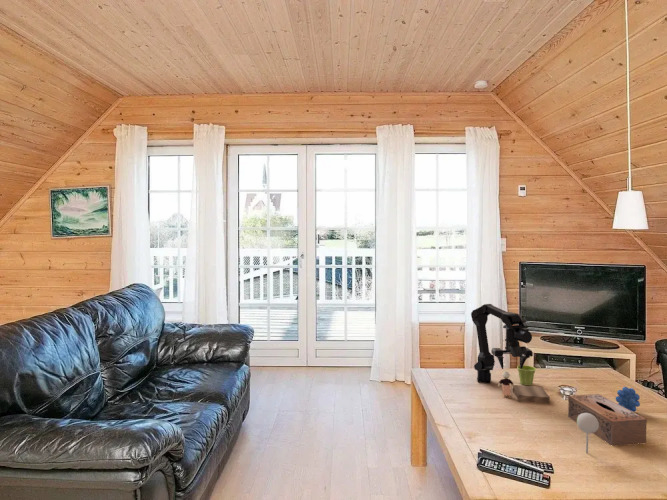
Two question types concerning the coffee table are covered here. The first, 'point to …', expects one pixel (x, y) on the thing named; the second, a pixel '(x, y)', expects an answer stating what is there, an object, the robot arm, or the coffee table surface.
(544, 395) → the walnut base
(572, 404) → the tissue box cover
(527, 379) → the plant pot
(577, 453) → the coffee table surface
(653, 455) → the coffee table surface
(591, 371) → the coffee table surface
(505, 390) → the grandmother figurine
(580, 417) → the lollipop
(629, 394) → the blue flower
